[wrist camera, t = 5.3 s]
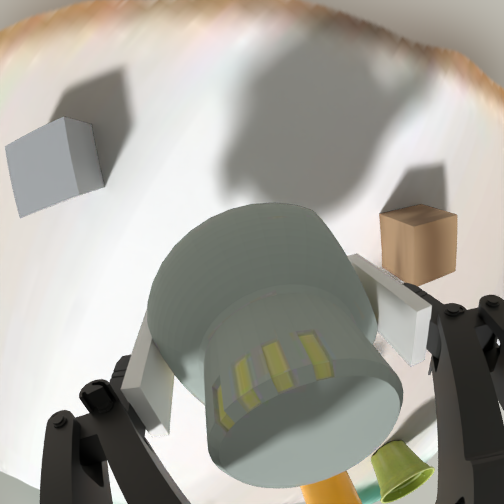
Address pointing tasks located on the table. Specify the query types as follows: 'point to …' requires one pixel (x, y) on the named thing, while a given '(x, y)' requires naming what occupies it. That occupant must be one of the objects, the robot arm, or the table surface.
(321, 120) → the table surface
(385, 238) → the walnut block
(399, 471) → the plant pot
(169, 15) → the table surface
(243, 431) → the air freshener
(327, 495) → the cylinder
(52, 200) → the grey block
